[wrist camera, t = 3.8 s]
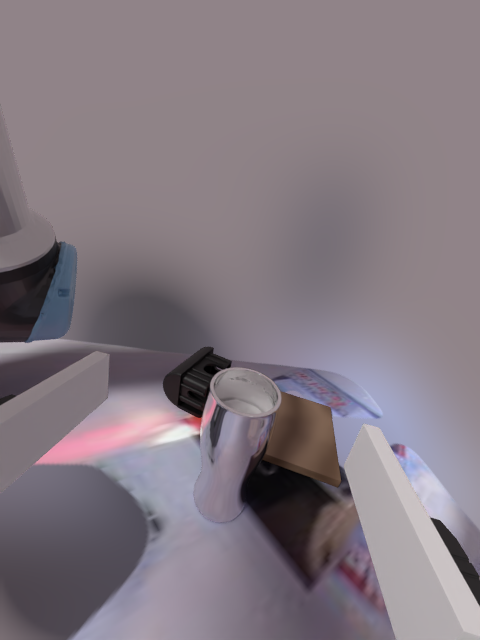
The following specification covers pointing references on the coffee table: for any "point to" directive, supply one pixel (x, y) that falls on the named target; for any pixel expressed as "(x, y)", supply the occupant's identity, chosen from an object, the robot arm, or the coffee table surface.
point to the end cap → (193, 380)
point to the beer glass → (233, 439)
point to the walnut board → (305, 440)
